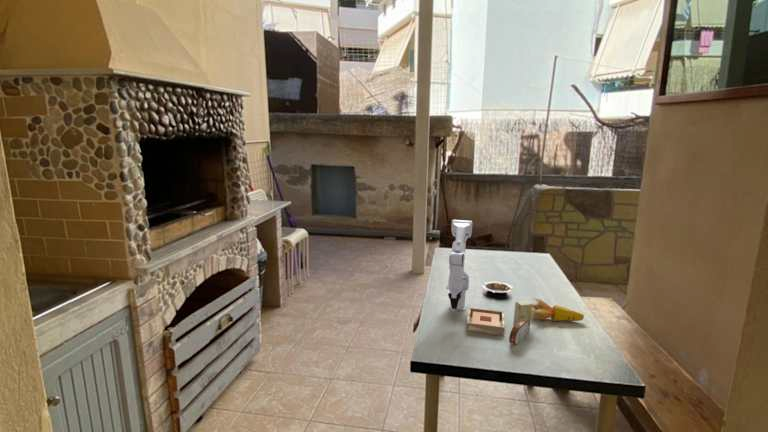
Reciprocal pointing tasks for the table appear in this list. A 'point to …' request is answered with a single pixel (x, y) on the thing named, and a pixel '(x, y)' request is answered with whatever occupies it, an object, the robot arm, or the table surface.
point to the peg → (455, 309)
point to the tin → (518, 331)
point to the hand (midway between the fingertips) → (454, 306)
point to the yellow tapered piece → (554, 312)
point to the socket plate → (485, 318)
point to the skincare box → (523, 311)
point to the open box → (483, 327)
